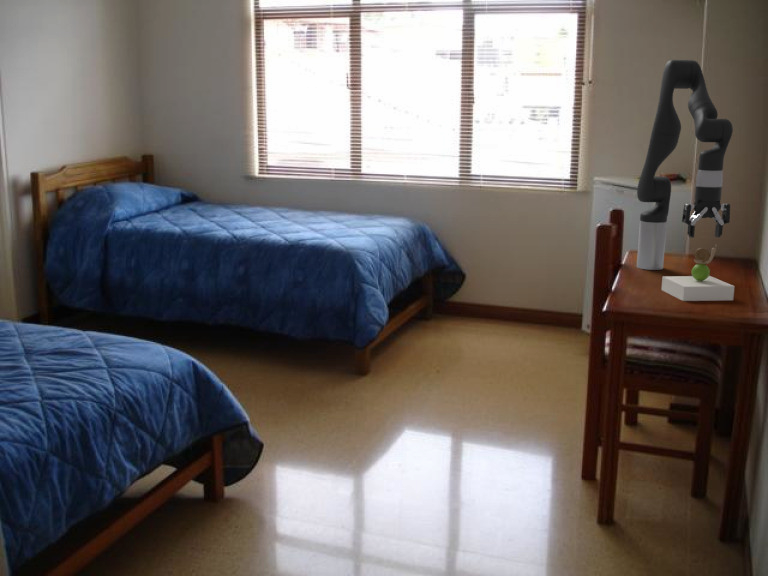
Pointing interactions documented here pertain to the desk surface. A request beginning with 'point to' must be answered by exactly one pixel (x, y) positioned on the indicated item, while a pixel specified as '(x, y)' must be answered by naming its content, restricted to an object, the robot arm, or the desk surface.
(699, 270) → the snail figurine
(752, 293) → the desk surface
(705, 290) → the cream block
